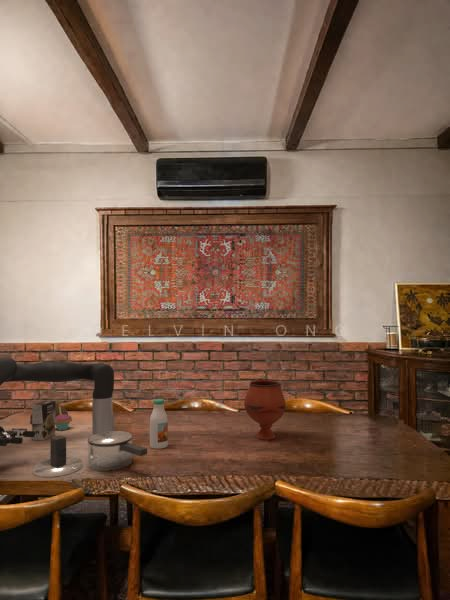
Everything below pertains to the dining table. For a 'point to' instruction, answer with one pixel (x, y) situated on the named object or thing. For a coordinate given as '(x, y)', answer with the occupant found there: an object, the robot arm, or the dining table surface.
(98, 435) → the cooker pot
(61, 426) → the cupcake
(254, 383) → the goblet
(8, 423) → the dining table surface
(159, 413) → the milk bottle
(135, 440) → the dining table surface
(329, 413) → the dining table surface
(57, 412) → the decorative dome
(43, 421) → the coffee box
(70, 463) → the cooker lid
